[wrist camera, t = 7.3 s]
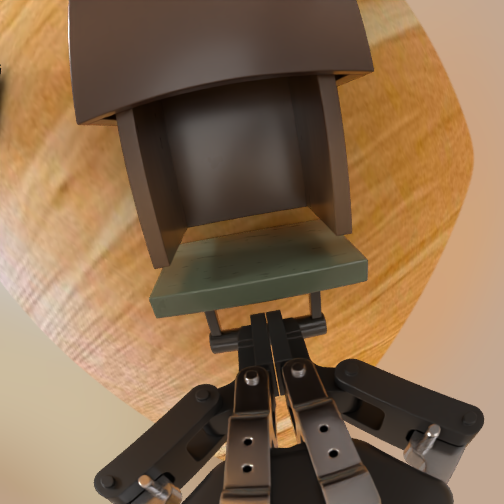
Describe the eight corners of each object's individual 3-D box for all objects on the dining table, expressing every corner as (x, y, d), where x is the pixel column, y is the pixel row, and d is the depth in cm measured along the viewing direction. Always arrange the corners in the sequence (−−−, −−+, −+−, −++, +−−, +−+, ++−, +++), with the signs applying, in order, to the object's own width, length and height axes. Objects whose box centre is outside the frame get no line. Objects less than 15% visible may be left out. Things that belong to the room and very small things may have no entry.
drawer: (330, 292, 21) (363, 351, 15) (195, 316, 21) (184, 382, 15) (298, 38, 14) (332, -6, 8) (136, 67, 14) (89, 38, 8)
